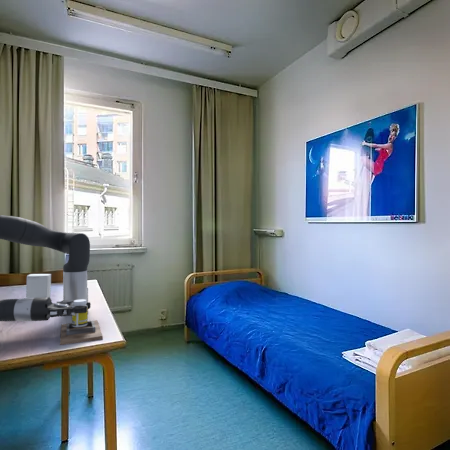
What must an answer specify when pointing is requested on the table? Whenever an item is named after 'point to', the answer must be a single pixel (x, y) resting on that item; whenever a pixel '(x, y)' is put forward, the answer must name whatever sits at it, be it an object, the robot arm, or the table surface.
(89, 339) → the seat board
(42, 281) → the skincare box
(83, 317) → the supplement bottle
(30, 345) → the table surface
